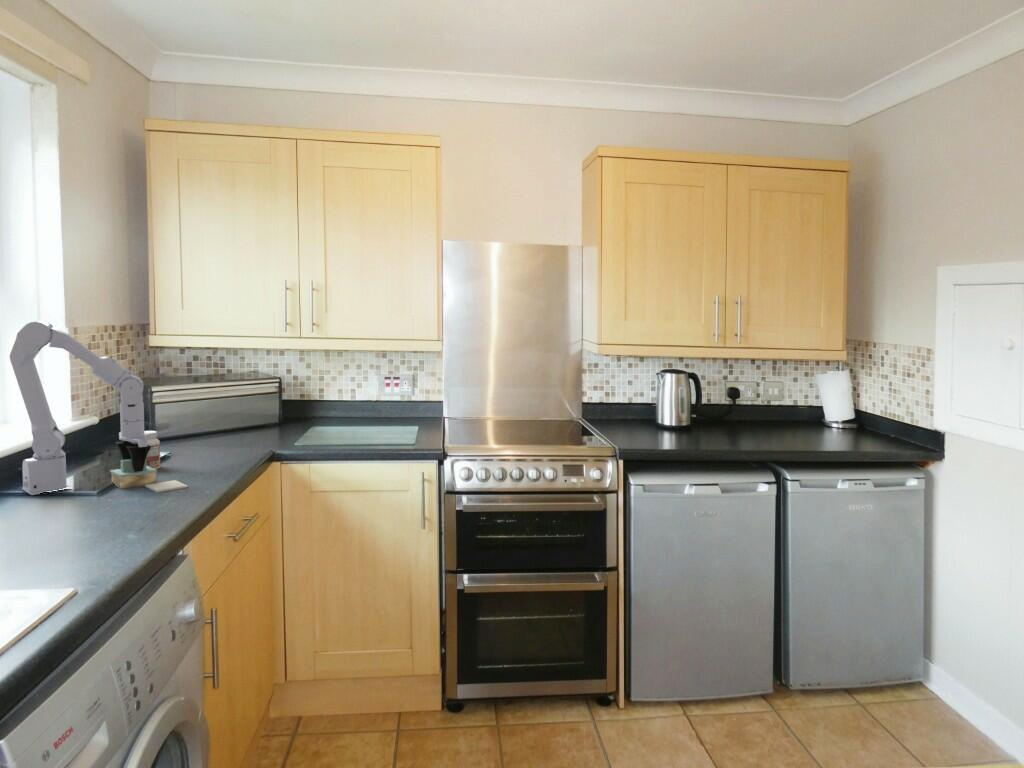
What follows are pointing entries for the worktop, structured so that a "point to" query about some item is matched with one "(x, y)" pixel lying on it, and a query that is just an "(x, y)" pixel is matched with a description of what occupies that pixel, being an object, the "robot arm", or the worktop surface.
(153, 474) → the box
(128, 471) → the lid
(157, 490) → the mat
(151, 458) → the pill bottle
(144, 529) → the worktop surface
